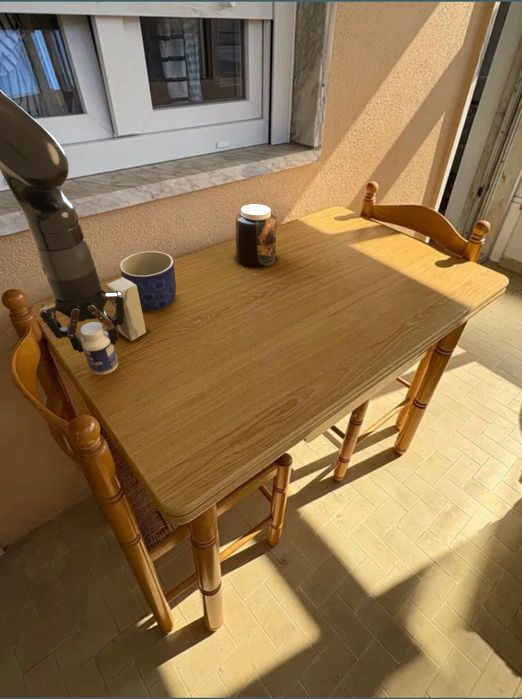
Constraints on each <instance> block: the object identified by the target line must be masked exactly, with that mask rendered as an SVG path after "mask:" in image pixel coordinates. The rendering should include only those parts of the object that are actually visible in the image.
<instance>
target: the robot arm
mask: <svg viewBox="0 0 522 699" xmlns="http://www.w3.org/2000/svg"><path fill="white" fill-rule="evenodd" d="M69 171H70V165H69V161H68V158H67V155H66V153H65V151H64V149H63V148H62V146H61V145H60V143H59V141H57V140H56V139H55V137H54V136H53V135H52V134H51V133H50V132H49V131H47V129H45V128H44V127H43V126H42V125H41V124H40V123H39V122H38V121H37V120H36V119H35V118H34V117H32V116H31V115H30V114H29V113H28V112H26V111H25V110H24V109H23V108H22V107H21V106H19V105H18V104H17V102H15V101H14V100H12V98H10V97H9V96H8V95H6V94H5V93H4V91H3V90H2V89H0V173H1V175H2V177H3V179H4V182H6V185H7V186H8V188H9V190H10V192H11V194H12V195H13V198H14V200H15V201H16V202H17V204H18V206H19V207H20V209H21V212H22V213H23V215H24V217H25V218H24V219H25V221H26V224H27V227H28V230H29V231H30V235H31V237H32V239H33V243H34V245H35V247H36V250H37V254H38V258H39V262H40V264H41V269H42V272H43V273H44V275H45V276H46V279H47V282H48V284H49V286H50V289H51V291H52V294H53V296H54V299H55V301H54V303H53V304H50V305H46V304H42V305H40V306H39V308H40V309H39V316H40V318H41V319H42V321H43V322H44V323H45V325H46V326H47V328H48V329H49V330H50V331H51V332H52V333H53V336H55V338H56V339H63V338H68V339H69V341H70V343H71V346H72V349H73V350H74V351H75V352H77V351H78V354H79V353H84V351H83V349H82V346H81V338H80V335H79V333H78V330H77V329H78V323H82V322H85V321H87V320H96V319H97V320H98V321H99V323H101V324H102V325H104V326H105V327H106V328H107V333H108V334H109V336H110V339H111V342H112V345H113V346H115V345H117V342H119V338H120V337H119V335H118V331H117V325H122V324H123V323H124V300H123V296H122V292H121V291H119V290H117V291H116V292H115V293H110V294H109V293H107V292H106V291H105V290H104V289H103V288H102V285H101V282H100V277H99V275H98V271H97V268H96V265H95V260H94V258H93V255H92V252H91V249H90V246H89V244H88V242H87V240H86V237H85V234H84V232H83V228H82V225H81V222H80V219H79V216H78V212H77V211H76V208H75V206H74V205H73V204H72V203H71V201H70V200H69V199H68V198H67V197H66V196H65V194H64V193H63V190H62V187H61V186H63V185H64V183H65V182H66V181H67V179H68V176H69ZM108 302H109V303H111V306H112V305H113V306H115V314H116V315H113V316H112V315H110V314H109V312H108V311H107V310H106V308H105V306H106V305H107V303H108ZM57 312H59V313H61V314H62V315H63V316H66V317H67V326H62V324H61V323H60V321H59V319H57Z"/></svg>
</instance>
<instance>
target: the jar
mask: <svg viewBox="0 0 522 699" xmlns="http://www.w3.org/2000/svg"><path fill="white" fill-rule="evenodd" d="M276 248H277V218H276V215H274V214H273V213H272V209H271V207H269V206H267V205H265V204H259V203H251V204H246V205H243V206H241V208H240V212H238V213H237V214H236V216H235V253H236V254H235V255H236V261H237V262H238V263H239V264H241V265H242V266H245V267H248V268H257V269H258V268H259V269H260V268H265V267H269V266H271V265H273V264H274V263H275V261H276Z"/></svg>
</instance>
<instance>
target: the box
mask: <svg viewBox="0 0 522 699" xmlns="http://www.w3.org/2000/svg"><path fill="white" fill-rule="evenodd" d="M106 289H107V294H110V293H115V292H116V291H117V290H119V291H121V292H122V296H123V300H124V323H123V324H122V325H117V326H116V328H117V330H118V333H120V334H121V335H122V336H123V337H125V338H126V339H128V340H129V341H130V342H131V341H134V340H135V339H138V338H140V337H141V336H143V335H145V334H146V333H147V329H146V325H145V320H144V314H143V310H142V309H141V305H140V300H139V295H138V290H137V286H136V285H135V284H134V283H132V282H131V281H129V280H127V279H125V278H123V277H122V276H121V277H120V278H118V279H116V280H113V281H111V282H108V283H106ZM111 308H112V311H113V316H115V315H116V314H115V306H113V305H112V304H111Z"/></svg>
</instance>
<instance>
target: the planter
mask: <svg viewBox="0 0 522 699" xmlns="http://www.w3.org/2000/svg"><path fill="white" fill-rule="evenodd" d="M119 270H120V274H121V278H122V277H123V278H125V279H127V280H129V281H131V282H132V283H134V284H135V285H136V286H137V290H138V295H139V300H140V305H141V309H142V311H147V312H149V311H150V312H153V311H159V310H163V309H165V308H167V307H169V306H170V305H172V303H173V302H174V301H175V299H176V296H177V282H176V281H177V280H176V272H175V271H176V270H175V264H174V259H173V257H172V256H171V255H169V254H168V253H166V252H161V251H153V250H152V251H151V250H149V251H140V252H137V253H136V252H135V253H133V254H131V255H129V256H127V257H125V258H123V259H122V260H121V261H120V264H119Z"/></svg>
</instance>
